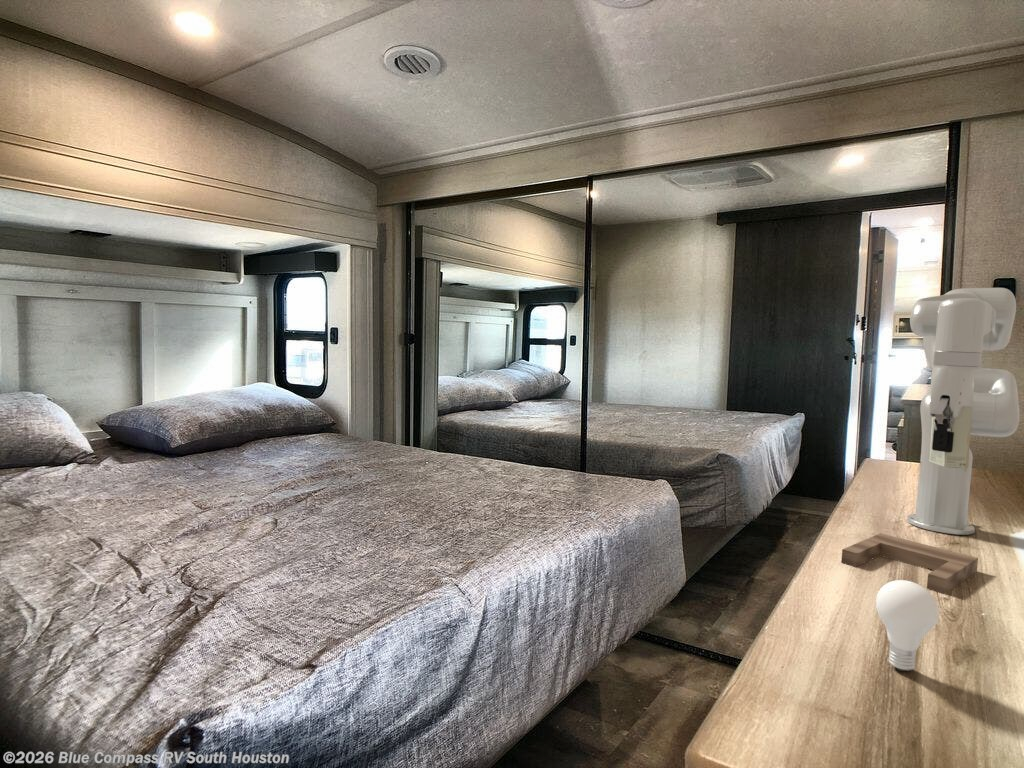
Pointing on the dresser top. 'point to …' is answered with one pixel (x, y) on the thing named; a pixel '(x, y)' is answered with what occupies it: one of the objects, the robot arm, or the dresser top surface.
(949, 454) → the skincare box
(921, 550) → the notched board
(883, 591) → the lightbulb
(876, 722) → the dresser top surface
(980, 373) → the robot arm
